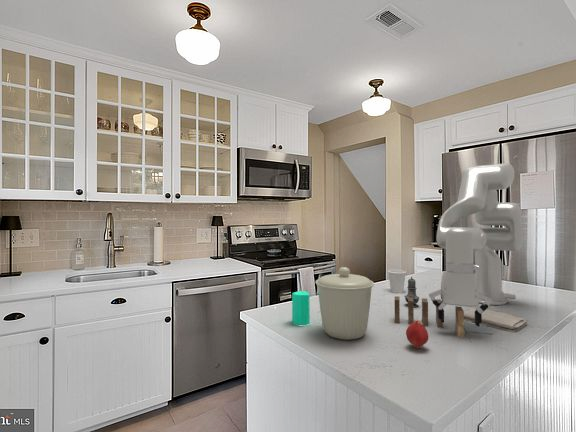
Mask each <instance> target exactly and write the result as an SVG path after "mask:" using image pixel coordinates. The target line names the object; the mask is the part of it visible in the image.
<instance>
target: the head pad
mask: <svg viewBox="0 0 576 432" xmlns="http://www.w3.org/2000/svg"><path fill="white" fill-rule="evenodd" d="M464 330H465V331H466V332H467V333H473V334H474V333H476V334H485V335H493V332H492V331H491V329H490V328H489V326H486V325H483V324H480V327H478V326H476V324H475V323H472V322H471V323H470V322H464Z"/></svg>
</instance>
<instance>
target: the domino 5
mask: <svg viewBox="0 0 576 432" xmlns="http://www.w3.org/2000/svg"><path fill="white" fill-rule="evenodd" d="M454 306H455V309H454V310H455V313H454V315H455V333H456V335H457V337H458V338H465V327H464V323H465V320H464V312H465V311H464V309H463V306H458V305H454Z"/></svg>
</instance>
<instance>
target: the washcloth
mask: <svg viewBox="0 0 576 432" xmlns="http://www.w3.org/2000/svg"><path fill="white" fill-rule="evenodd" d="M475 311H476V309H475V308H474V307H471V308H470V309H469V310H467V311H466V310H465V311H464V321H467V322H470V321H471V323H473V324H475ZM480 324H482V325H486V326H487V327H491V328H495V329H499V330H503V331H507V332H510V333H515V332H518V331H521V329H523V328H525V327H526V326H527V325H528V321H527V320H524V318H523V317H517V316H514V315H511V314H509V313H507V312H499V311H495V310H491V309H488V308H487V309H486V310H485V311H484V312H483V313H482V323H480Z"/></svg>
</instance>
